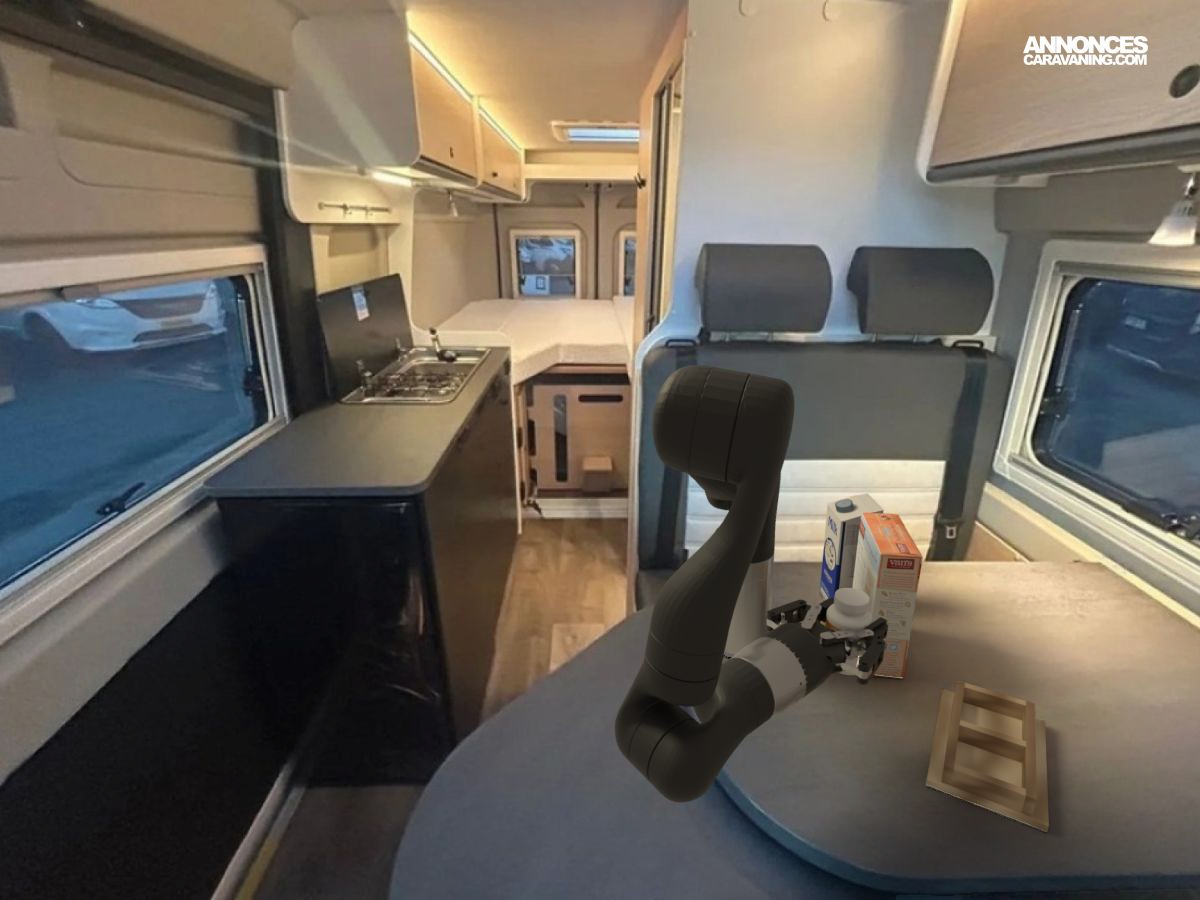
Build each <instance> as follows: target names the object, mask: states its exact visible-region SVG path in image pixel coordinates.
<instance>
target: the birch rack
mask: <svg viewBox="0 0 1200 900" xmlns="http://www.w3.org/2000/svg"><path fill="white" fill-rule="evenodd" d="M936 723H937V724H936V725H935V730H934V736H933V741H932V748H931V751H930V753H931V754H930V759H929V765H928V768H927V769H928V770H927V776H926V781H925V785H926V784H928V785H931V786H933V787H936V788H938V789H940V790H942V791H944V792H947V793H950V794H952V795H955V796H958V797H960V798H962V799H964V800H967V801H970V802H973V803H976V804H979V805H982V806H984V807H987V808H990V809H992V810H995V811H998V812H1000V813H1002V814H1004V815H1008V816H1010V817H1012V818H1014V819H1018V820H1020V821H1022V822H1025V823H1028V824H1030V825H1032V826H1035V827H1037V828H1039V829H1042V830H1044V831H1046V832H1047V833H1048V831H1049V828H1050V823H1049V819H1050V818H1049V799H1048V798H1049V796H1048V795H1049V794H1048V768H1047V764H1048V763H1047V744H1046V742H1047V741H1046V739H1047V738H1046V720H1044V719H1041V718H1038V717H1036V704H1035V703H1034V702H1031V701H1027V700H1025V699H1022V698H1017V697H1014V696H1010V695H1007V694H1004V693H1000V692H997V691H995V690H991V689H987V688H984V687H981V686H977V685H974V684H970V683H967V682H965V681H964V682H963V681H961V680H956V683H955V688H954V691H950V690H947V689H944V688H942V690H941V697H940V701H939V707H938V713H937V719H936Z"/></svg>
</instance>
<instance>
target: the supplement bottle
mask: <svg viewBox="0 0 1200 900" xmlns="http://www.w3.org/2000/svg"><path fill="white" fill-rule="evenodd" d="M869 604H870V598H869V596H868V595H867V594H866V593H865V592H863V591H861V590H858V589H854V588H841V589H838V590H837V591H836V592H835V596H834V604H832V605H831V606H830V607H829V608H828V610H827V614H826V622H825V623H824V624H825V626H826V627H827V628H828V629H831V630H834V631H836V632H837V631H842V630H847V629H851V630H852V631H853V632H854V631H859V630H864V629H865V627H867V626H868V625H870V624H871V623H873V616H872V614H871V613H870V611H869ZM857 644H861V641H859V642H858V643H857ZM861 655H862V656H863V654H861ZM855 658H858V655H857V656H856V657H855ZM838 674H840V675H841V674H842V675H847V676H855V675H854V674H852V673H849V672H847V671H845V670H843V671H842V672H839V673H838Z"/></svg>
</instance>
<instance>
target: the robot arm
mask: <svg viewBox="0 0 1200 900" xmlns="http://www.w3.org/2000/svg"><path fill="white" fill-rule="evenodd" d="M653 406H654V407H653V411H652V419H651V420H652V423H651V427H652V428H651V430H652V438H653V444H654V447H655V451H656V454H657V455H658V457H659V460H660V461H661V462H662V463H663V464H664V465H665V466H667V468H671V469H672V470H675V471H678V472H681V473H686V474H688V475H689V476H690V478H691V479H693V480H694V481H695V482H696V483H697V485H698V486H699V487H700V488H701V489H702V490H703V491H704V493H705V496H706V497H705V498H706V500H707V501H708V503H709V504H710V506H712V507H713V508H715V509H717V510H723V511H728V512H727V514H726V516H725V517H724V519H723V521H722V522H721V523H720V525H718V527H717V528H716V529H715V531H714V532H713V533H712V534H711V536H710V537H709V538H708V539H707V541H705V542H704V544H702V545H701V547H699V548H698V549H697V550H696V551H695V552H694V553H692V555H691V556H690V557H689V558H688V559H687V560H686V561H685V562H684V563H682V564H681V566H679V567H678V569H677V570H676V571H675V572H674V573H673V574H672V575H671V576H670V577H669V578H668V580H667V581H666V582H665V584H664V585H663V587H662V588H661V590H660V591H659V593H658V596H657V598H656V601H655V603H654V606H653V609H652V614H651V618H650V623H649V628H648V634H647V640H646V646H645V651H644V658H643V661H642V663H641V666H640V667H639V670H638V671H637V673H636V676H635V678H634V679H633V682H632V683H631V686H630V687H629V690H628V692H627V694H626V696H625V698H624V700H623V701H622V703H621V705H620V707H619V709H618V711H617V714H616V716H615V719H614V720H615V722H614V736H615V741H616V746H617V747H618V750H619V752H621V754H622V756H624V758H625V759H627V761H628V762H629V763H630V764H631V765H632V766H633V767H634V768H635V769H636V770H637V771H638V772H639V773H640V774H641V775H642V776H643V777H644V778H645V779H646V780H647V782H650V784H651V785H652V786H653V787H654V788H655V790H657V791H658V793H660V794H661V795H662V796H663V797H664V798H666V799H667V800H668V801H671V802H674V803H679V804H680V803H688V802H692V801H694V800H695V801H696V800H697V799H699V798H701V797H702V796H703V795H704V794H706V793H707V791H708V790H709V789H710V788H711V786H712V785H713V784H714V782H715V780H716V779H717V777H718V775H719V774H720V773H721V770H722V769H723V767H724V766H725V765H726V762H727V761H728V760H729V759H730V757H731V756H732V755H733V753H734V752H735V751H736V749H737V748H738V747H739V746H740V744H741V743H742V742H743V741H744V739H745V738H746V737H747V736H749V735H750V734H752V733H753V732H754V731H756V730H757V729H758V728H759V727H761V726H762V725H764V724H766V723H767V722H768V721H770V720H771V719H772V718H774V717H776V716H779V715H780V714H782V713H784V712H786V711H788V710H789V709H790V708H791V707H793V706H794V705H795V704H797V703H799V702H800V701H801V700H802V699H804V698H805V697H807V696H808V695H809V694H811V693H812V692H813V691H814V690H816V689H817V688H818V687H820V686H821V685H823V684H824V683H825V681H826V680H827V679H828V678H829V677H830V676H831V675H833V674H840V673H839V672H842V671H843V670H845V671H847V672H849V673H852V674H854V675H853V676H856V678H855V680H856V682H857V684H859V685H862V686H863V685H867V684H869V682H870V681H871V679H872V678H873V677H874V676H873V675H874V673H875V672H876V670H877V669H878V667H879V666H880V665H881V663H882V662H883V657H884V649H885V641H884V640H883V639H885V638H886V637H887V631H888V625H887V620H886V619H884V618H882V617H880V618H878V619H877V620H876V621H874V622H873V623H871V624H870V625H868V626H867V627H865V629H864V630H859V631H854V632H853V631H852V630H851V629H847V630H842V631H837V632H836V631H834V630H831V629H828V628H827V627H826V626H825V625H824V624H825V623H826V614H827V610H828V608H829V607H830V606H831V605H832V604H834V598H828V599H827V600H825V601H824V600H823V601H822V602H820V603H812V605H810V604H808V603H807V601H806V600H804V599H797V600H794V601H791V602H788V603H785V604H783V605H780V606H777V607H774V608H772V600H773V599H772V598H773V583H774V582H773V581H774V568H775V567H774V565H775V564H774V563H775V551H776V550H775V547H776V523H777V514H778V513H777V511H778V505H779V497H780V490H781V480H782V478H781V477H782V469H783V467H784V463H785V459H786V455H787V452H788V448H789V443H790V440H791V434H792V431H793V423H794V418H795V417H794V416H795V394H794V391H793V388H792V386H791V384H790V383H789V382H787V381H786V380H783V379H781V378H777V377H771V376H767V375H760V374H755V373H749V372H745V371H743V372H742V371H738V370H734V369H733V370H732V369H726V368H721V367H716V366H711V365H710V366H709V365H699V364H696V365H694V364H692V365H685V366H682V367H680V368H678V369H677V370H675V371H673V372H672V373H671V374H669V376H668V377H667V379H665V381H664V383H663V384H662V385H661V387H660V390H659V391H658V393H657V397H656V399H655V403H654V405H653ZM822 623H823V624H822ZM859 641H861V644H857V643H858V642H859ZM724 652H727V653H730V654H734V656H733V657H732V658H728V660H726V661H724V662H723V660H724V657H725V656H724ZM861 654H863V656H862V655H861ZM857 655H858V658H855V657H856V656H857ZM682 707H688V708H690V707H691V708H693V711H694V712H695V715H696V717H697V719H698V721H697V720H696V719H695V718H694V717H693V716H691V715H690V714H689V713H688V712H687V711H685V709H684V708H682Z"/></svg>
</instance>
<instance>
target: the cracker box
mask: <svg viewBox="0 0 1200 900" xmlns="http://www.w3.org/2000/svg"><path fill="white" fill-rule="evenodd" d="M923 559H924V556H923V555H922V553H921V551H920V549H919V547H918V546H917V544H916V542H915V541H914V539H913V538H912V536H911V534H910V532H909V531H908V529H907V528H906V526H905V524H904V522H903V521H902V519H901V517H900V515H899V514H896V513H886V512H885V513H884V512H883V513H861V518H860V527H859V536H858V545H857V553H856V562H855V570H854V579H853V587H852V588H854V589H858V590H861V591H863V592H865V593H866V594H867V595H868V596H869V598H870V604H869V611H870V613H871V614H872V616H873V622H874V621H876V620H877V619H878V618H880V617H882V618H884V619H886V620H887V625H888V631H887V637H886V638H885V639H883V640H884V641H885V649H884V657H883V662H882V663H881V665H880V666H879V667H878V669H877V670H876V672H875V673H874V675H875V674H877V675H884V676H893V677H903V678H904V675H905V670H906V663H907V657H908V650H909V644H910V638H911V635H912V634H911V633H912V627H913V621H914V614H915V608H916V600H917V594H918V589H919V583H920V577H921V569H922V566H923V565H922V564H923Z"/></svg>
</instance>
